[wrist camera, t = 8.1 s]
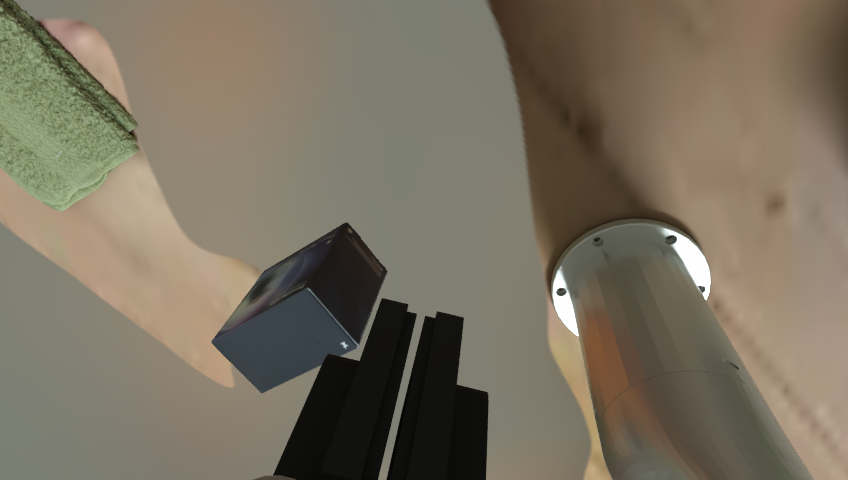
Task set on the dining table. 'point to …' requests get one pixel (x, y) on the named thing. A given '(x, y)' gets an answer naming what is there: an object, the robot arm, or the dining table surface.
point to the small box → (304, 310)
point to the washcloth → (54, 116)
